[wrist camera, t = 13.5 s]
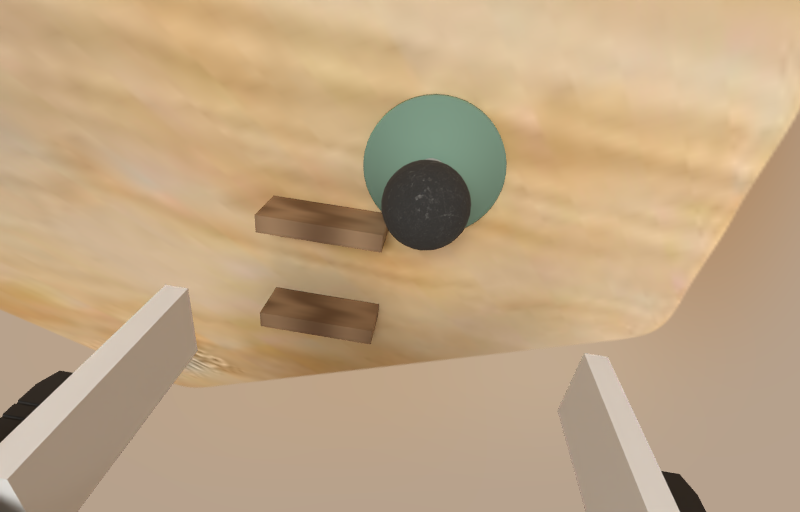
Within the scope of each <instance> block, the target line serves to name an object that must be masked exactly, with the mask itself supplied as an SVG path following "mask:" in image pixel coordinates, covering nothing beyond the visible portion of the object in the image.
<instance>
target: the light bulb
mask: <svg viewBox="0 0 800 512" xmlns="http://www.w3.org/2000/svg"><path fill="white" fill-rule="evenodd" d="M381 212H382V215H383V219H384V222H385V224H386V227H387V229H388V230H389V231H390V233H391V234H392V235H393V236H394V237H395V238H396V239H397V240H398V241H399V242H401V243H402V244H404V245H406V246H408V247H411V248H413V249H417V250H434V249H438V248H442V247H444V246H446V245H448V244H450V243H451V242H452V241H454V240H455V239H456V238H457V237H458V236H459V235H460V234H461V233H462V231H463V230H464V228H465V226H466V225H467V223H468V220H469V217H470V212H471V197H470V192H469V190H468V187H467V185H466V183H465V181H464V180H463V178H462V177H461V175H460V174H459V173H458V172H457V171H456V170H454V169H453V168H452V167H450V166H449V165H447V164H444V163H442V162H441V161H439V160H438V159H434V158H429V159H425V160H418V161H413V162H411V163H409V164H406V165H404V166H403V167H401V168H400V169H399V170H397V171H396V172H395V173H394V175H393V176H392V177H391V178H390V179H389V181H388V182H387V184H386V186H385V188H384V192H383V195H382V201H381Z"/></svg>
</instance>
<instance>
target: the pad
mask: <svg viewBox="0 0 800 512" xmlns="http://www.w3.org/2000/svg"><path fill="white" fill-rule="evenodd" d="M429 158H434V159H438V160H439V161H441V162H442V163H444V164H447V165H449V166H450V167H452V168H453V169H454V170H456V171H457V172H458V173H459V174H460V175H461V177H462V178H463V180H464V181H465V183H466V185H467V187H468V190H469V192H470V197H471V212H470V217H469V220H468V223H467V225H466V226H465V227H467V226H469V225H471V224H473V223H474V222H476V221H477V220H479V219H480V218H481V217H482V216H483V215H485V214H486V213H487V212H488V210H489V209H490V208H491V207H492V206H493V204H494V203H495V201H496V200H497V198H498V196H499V194H500V192H501V190H502V187H503V184H504V180H505V175H506V154H505V149H504V145H503V142H502V140H501V137H500V135H499V133H498V131H497V129H496V127H495V125H494V124H493V123H492V121H491V120H490V119H489V118H488V117H487V116H486V115H485V114H484V113H483V112H482V111H481V110H480V109H478V108H477V107H476V106H474V105H473V104H471V103H469V102H467V101H465V100H462V99H460V98H457V97H453V96H449V95H440V94H431V95H423V96H418V97H414V98H411V99H409V100H406V101H404V102H402V103H400V104H398V105H397V106H396V107H394V108H393V109H391V110H390V111H389V112H388V113H387V114H386V115H385V116H384V117H383V118H382V119H381V120H380V121H379V123H378V124H377V125H376V127H375V128H374V130H373V132H372V133H371V135H370V138H369V140H368V142H367V146H366V149H365V154H364V177H365V181H366V185H367V188H368V191H369V193H370V195H371V197H372V199H373V201H374V202H375V204H376V205H377V206H378V208H379V209H380V210H381V201H382V195H383V192H384V188H385V186H386V184H387V182H388V181H389V179H390V178H391V177H392V176H393V175H394V173H395V172H396V171H397V170H399V169H400V168H401V167H403V166H404V165H406V164H409V163H411V162H413V161H418V160H425V159H429Z"/></svg>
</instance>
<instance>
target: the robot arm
mask: <svg viewBox="0 0 800 512" xmlns="http://www.w3.org/2000/svg"><path fill="white" fill-rule="evenodd" d="M197 351H198V350H197V344H196V337H195V331H194V324H193V318H192V311H191V305H190V298H189V292H188V288H182V287H176V286H170V285H165V286H164V287H163V288H162V289H160V290H159V291H158V292H157V293H156V294H155V295H154V296H153V297H152V298H151V299H150V300H149V301H148V302H147V303H146V304H145V305H144V306H143V307H142V308H141V309H140V310H139V311H137V312H136V313H135V314H134V315H133V316H132V317H131V318H130V319H129V320H128V321H127V322H126V323H125V324H124V325H123V326H122V327H121V328H120V329H119V330H118V331H117V332H116V333H115V334H113V335H112V336H111V337H110V338H109V339H108V340H107V341H106V342H105V343H104V344H103V345H102V346H101V347H100V348H99V349H98V350H97V351H96V352H95V353H94V354H93V355H92V356H90V357H89V359H87V360H86V361H85V362H84V363H83V364H82V365H81V366H80V367H79V368H78V369H77V370H76V371H75V372H74V373H70V372H64V371H58V372H57V373H55V374H53V375H51V376H50V377H48V378H46V379H44V380H42V381H41V382H39V383H37V384H36V385H35V386H34V387H32V388H31V389H30V390H29V391H28V392H27V393H26V394H25V395H24V396H23V397H21V398H20V399H19V400H18V403H17V404H14V405H12V406H11V407H10V408H9V409H8V410H7V411H6V412H5V413H4V414H3V416H2V417H1V418H0V512H78V510H79V509H80V508H81V506H82V505H83V504H84V502H85V501H86V500H87V498H88V497H89V496H90V494H91V493H92V492H93V490H94V489H95V488H96V486H97V485H98V484H99V482H100V481H101V480H102V478H103V477H104V475H105V474H106V473H107V472H108V470H109V469H110V467H111V466H112V465H113V463H114V462H115V461H116V459H117V458H118V457H119V455H120V454H121V453H122V451H123V450H124V449H125V447H126V446H127V445H128V443H129V442H130V440H131V439H132V438H133V437H134V435H135V434H136V433H137V431H138V430H139V428H140V427H141V425H142V424H143V423H144V422H145V420H146V419H147V418H148V416H149V415H150V414H151V412H152V411H153V410H154V408H155V407H156V406H157V404H158V403H159V402H160V400H161V399H162V397H163V396H164V395H165V394H166V392H167V391H168V390H169V388H170V387H171V386H172V384H173V383H174V382H175V380H176V379H177V378H178V376H179V375H180V373H181V372H182V371H183V369H184V368H185V367H186V365H187V364H188V363H189V361H190V360H191V359H192V357H193V356H194V355H195V353H196V352H197ZM558 414H559V417H560V421H561V424H562V428H563V432H564V436H565V439H566V442H567V446H568V450H569V454H570V457H571V460H572V464H573V468H574V472H575V475H576V479H577V483H578V486H579V490H580V493H581V497H582V500H583V504H584V508H585V511H586V512H706V511H705V509H704V507H703V505H702V503H701V501H700V499H699V497H698V495H697V494H696V493H695V492H694V490H693V489H692V488H691V487H690V486H689V485H688V484H687V482H686V481H685V480H684V479H683V478H682V477H681V475H680V474H675V473H669V472H663V471H661V470H660V468H659V466H658V464H657V462H656V459H655V457H654V455H653V453H652V451H651V449H650V447H649V444H648V442H647V440H646V438H645V436H644V434H643V431H642V430H641V427H640V425H639V423H638V421H637V419H636V416H635V414H634V412H633V410H632V408H631V406H630V404H629V401H628V399H627V397H626V395H625V393H624V391H623V389H622V386H621V384H620V382H619V380H618V378H617V376H616V374H615V371H614V370H613V367H612V365H611V363H610V361H609V358H608V357H605V356H599V355H592V354H586V353H584V355H583V357H582V359H581V361H580V363H579V366H578V368H577V370H576V372H575V374H574V376H573V378H572V380H571V383H570V385H569V387H568V389H567V391H566V393H565V396H564V398H563V400H562V402H561V404H560V406H559V408H558Z"/></svg>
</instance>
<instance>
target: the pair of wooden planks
mask: <svg viewBox="0 0 800 512" xmlns="http://www.w3.org/2000/svg"><path fill="white" fill-rule="evenodd" d="M255 228H256V232H258V233H264V234H270V235H276V236H282V237H289V238H295V239H301V240H307V241H313V242H320V243H326V244H332V245H338V246H344V247H351V248H357V249H363V250H369V251H375V252H382V248H383V245H384V242H385V238H386V235H387V232H388V229H387V227H386V224H385V222H384V219H383V215H382V213H380V212H373V211H367V210H361V209H354V208H348V207H342V206H335V205H329V204H323V203H316V202H310V201H304V200H297V199H291V198H285V197H279V196H273V197H272V198H271V199H270V200H269V201H268V202H267V203H266V204H265V205H264V206H263V207H262V208H261V209H260V210H259V211H258V212H257V213H256V214H255ZM378 308H379V304H374V303H368V302H362V301H355V300H349V299H343V298H337V297H331V296H325V295H319V294H313V293H307V292H301V291H295V290H289V289H283V288H277V287H276V289H275V290H274V292H273V294H272V295H271V297H270V298H269V300H268V301H267V303H266V304H265V306H264V307H263V309H262V311H261V312H260V319H261V326H265V327H271V328H276V329H282V330H288V331H294V332H300V333H306V334H312V335H318V336H324V337H330V338H336V339H342V340H348V341H354V342H360V343H366V344H371V341H372V337H373V333H374V328H375V324H376V320H377V316H378Z"/></svg>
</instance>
